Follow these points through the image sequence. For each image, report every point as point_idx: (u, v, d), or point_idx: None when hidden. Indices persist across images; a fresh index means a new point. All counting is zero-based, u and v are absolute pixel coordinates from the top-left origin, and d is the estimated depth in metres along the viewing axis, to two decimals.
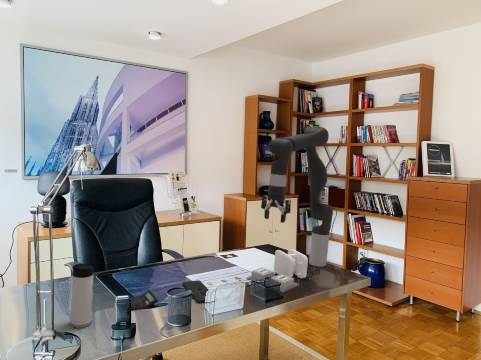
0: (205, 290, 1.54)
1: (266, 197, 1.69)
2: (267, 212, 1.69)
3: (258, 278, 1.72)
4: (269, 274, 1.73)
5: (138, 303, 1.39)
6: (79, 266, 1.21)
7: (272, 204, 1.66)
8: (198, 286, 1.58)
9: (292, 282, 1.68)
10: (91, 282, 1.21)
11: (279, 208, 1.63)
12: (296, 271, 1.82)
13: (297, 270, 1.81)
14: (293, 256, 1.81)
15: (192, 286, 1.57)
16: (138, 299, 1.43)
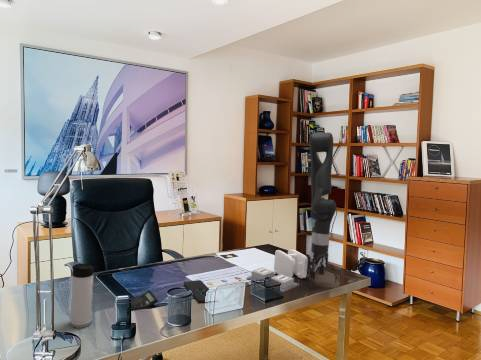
0: (206, 290, 1.55)
1: None
2: None
3: (258, 278, 1.72)
4: (269, 274, 1.73)
5: (138, 303, 1.39)
6: (79, 266, 1.21)
7: None
8: (199, 286, 1.58)
9: (292, 282, 1.68)
10: (91, 282, 1.21)
11: (324, 263, 1.73)
12: (296, 271, 1.82)
13: (297, 270, 1.81)
14: (293, 256, 1.81)
15: (193, 286, 1.58)
16: (138, 299, 1.43)
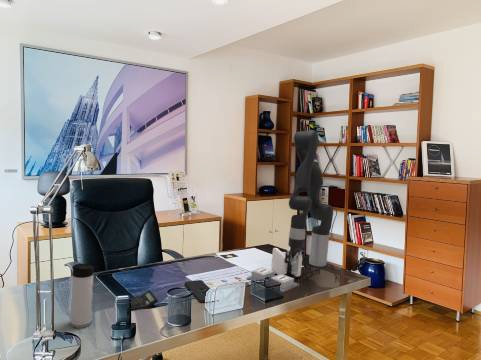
0: (207, 290, 1.55)
1: None
2: None
3: (258, 278, 1.72)
4: (269, 274, 1.73)
5: (138, 303, 1.39)
6: (79, 266, 1.21)
7: (296, 256, 1.78)
8: (200, 286, 1.58)
9: (292, 282, 1.68)
10: (91, 282, 1.21)
11: None
12: (292, 269, 1.84)
13: (293, 268, 1.83)
14: None
15: (194, 286, 1.58)
16: (138, 299, 1.43)
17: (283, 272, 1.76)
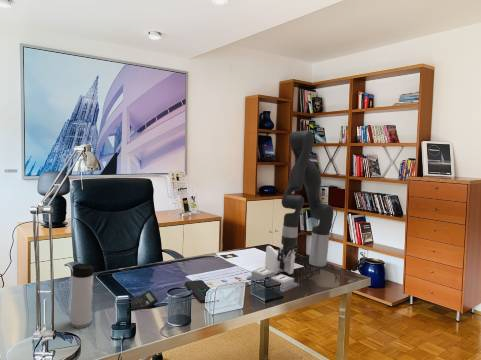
0: (208, 289, 1.55)
1: None
2: None
3: (258, 278, 1.72)
4: (269, 274, 1.73)
5: (138, 303, 1.39)
6: (79, 266, 1.21)
7: None
8: (200, 286, 1.59)
9: (292, 282, 1.68)
10: (91, 282, 1.21)
11: (294, 254, 1.84)
12: (285, 267, 1.87)
13: (286, 266, 1.86)
14: None
15: (194, 285, 1.58)
16: (138, 298, 1.43)
17: (276, 270, 1.79)
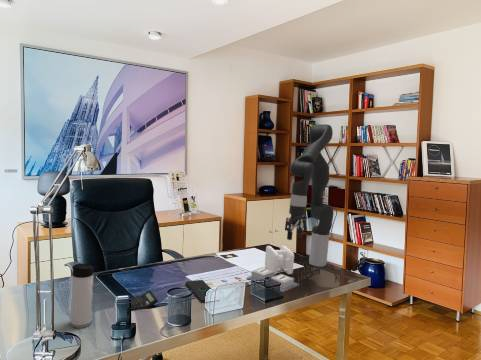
0: (208, 289, 1.55)
1: None
2: None
3: (258, 278, 1.72)
4: (269, 274, 1.73)
5: (138, 303, 1.39)
6: (79, 266, 1.21)
7: None
8: (201, 285, 1.59)
9: (292, 282, 1.68)
10: (91, 282, 1.21)
11: (302, 225, 1.76)
12: (284, 267, 1.87)
13: (285, 266, 1.86)
14: (282, 252, 1.86)
15: (195, 285, 1.58)
16: (138, 299, 1.43)
17: (275, 269, 1.79)
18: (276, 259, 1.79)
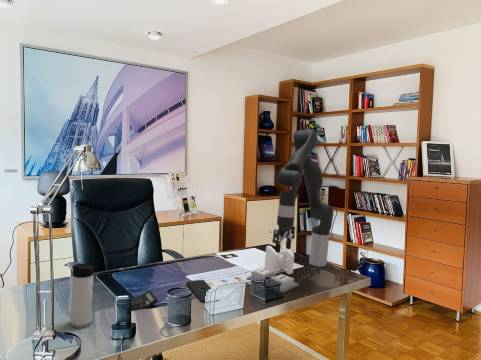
0: None
1: None
2: None
3: (258, 278, 1.72)
4: (269, 274, 1.73)
5: (138, 303, 1.39)
6: (79, 266, 1.21)
7: None
8: (202, 285, 1.59)
9: (292, 282, 1.68)
10: (91, 282, 1.21)
11: (291, 236, 1.69)
12: (284, 267, 1.87)
13: (285, 266, 1.86)
14: (282, 252, 1.86)
15: (195, 285, 1.58)
16: (138, 299, 1.43)
17: (275, 269, 1.79)
18: (276, 259, 1.79)
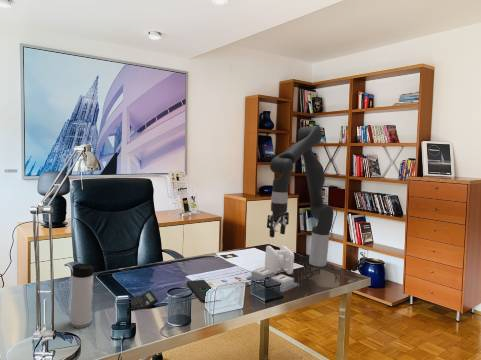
0: None
1: None
2: None
3: (258, 278, 1.72)
4: (269, 274, 1.73)
5: (138, 303, 1.39)
6: (79, 266, 1.21)
7: None
8: (202, 285, 1.59)
9: (292, 282, 1.68)
10: (91, 282, 1.21)
11: (284, 222, 1.76)
12: (284, 267, 1.87)
13: (285, 266, 1.86)
14: (282, 252, 1.86)
15: (196, 285, 1.59)
16: (138, 298, 1.43)
17: (275, 269, 1.79)
18: (276, 259, 1.79)
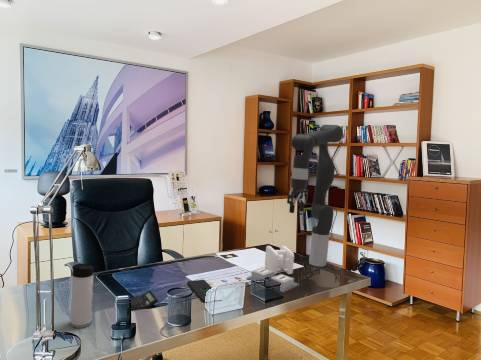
0: None
1: None
2: None
3: (258, 278, 1.72)
4: (269, 274, 1.73)
5: (138, 303, 1.39)
6: (79, 266, 1.21)
7: None
8: (203, 285, 1.59)
9: (292, 282, 1.68)
10: (91, 282, 1.21)
11: (304, 199, 1.77)
12: (284, 267, 1.87)
13: (285, 266, 1.86)
14: (282, 252, 1.86)
15: (196, 285, 1.59)
16: (138, 299, 1.43)
17: (275, 269, 1.79)
18: (276, 259, 1.79)
